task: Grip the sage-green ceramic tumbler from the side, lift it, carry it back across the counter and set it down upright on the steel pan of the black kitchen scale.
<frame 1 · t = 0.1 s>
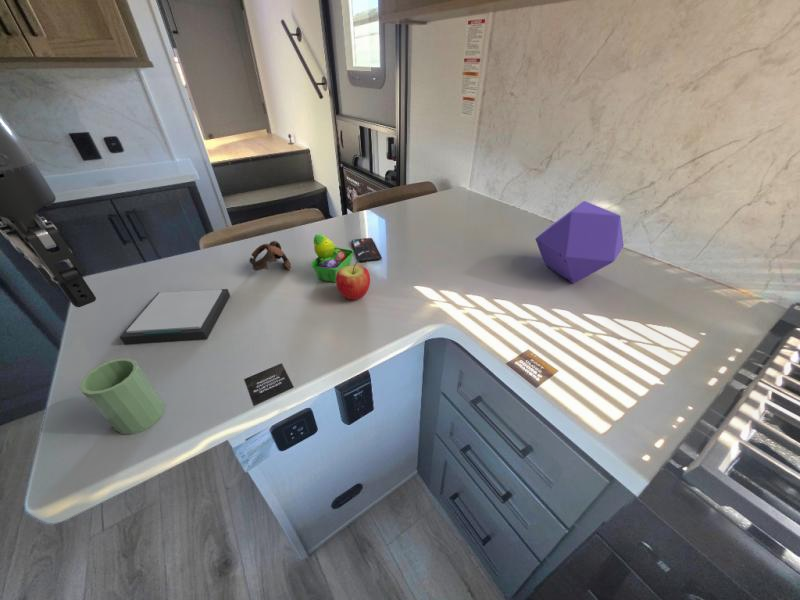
hand: (73, 292, 42), 22 cm above the worktop, tool pointing down, fingers open, 8 cm apart
scale: (182, 318, 72), on the worktop
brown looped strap: (274, 267, 92), on the worktop
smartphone: (366, 250, 101), on the worktop
tumbler: (141, 416, 52), on the worktop
apple: (354, 296, 81), on the worktop
purple polyhedron: (567, 272, 92), on the worktop
fruit basket: (332, 273, 90), on the worktop
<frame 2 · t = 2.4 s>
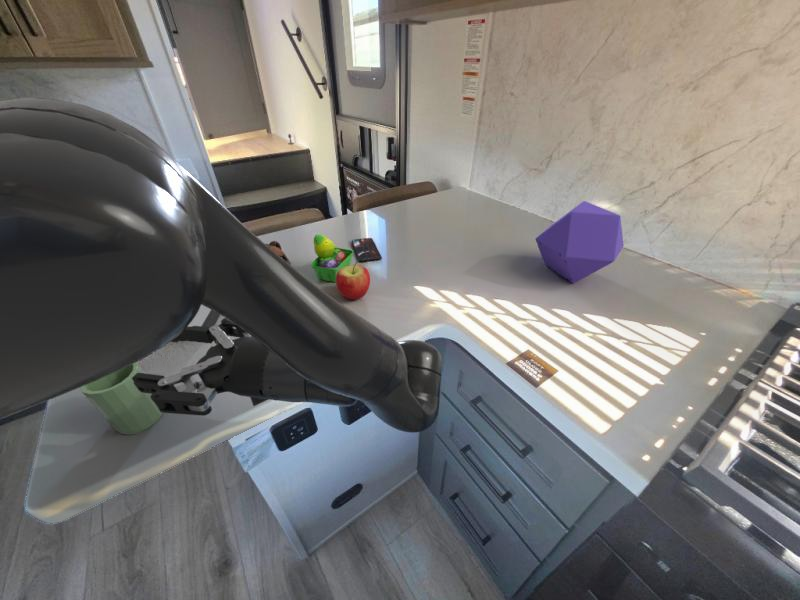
hand: (163, 355, 41), 16 cm above the worktop, tool horizontal, fingers open, 8 cm apart
nothing on the worktop moved.
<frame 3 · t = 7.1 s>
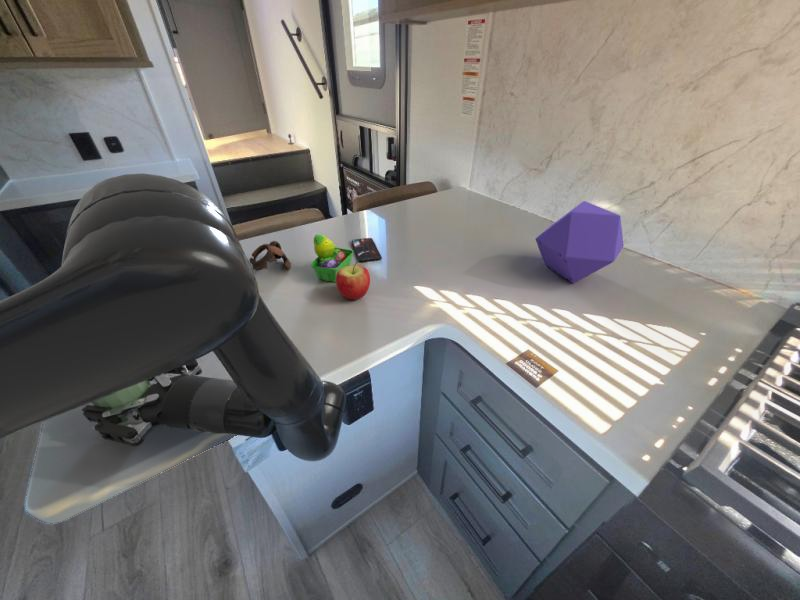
hand: (109, 390, 48), 6 cm above the worktop, tool horizontal, fingers closed on tumbler, 6 cm apart
tumbler: (141, 416, 52), on the worktop, touching gripper
everything else where it was.
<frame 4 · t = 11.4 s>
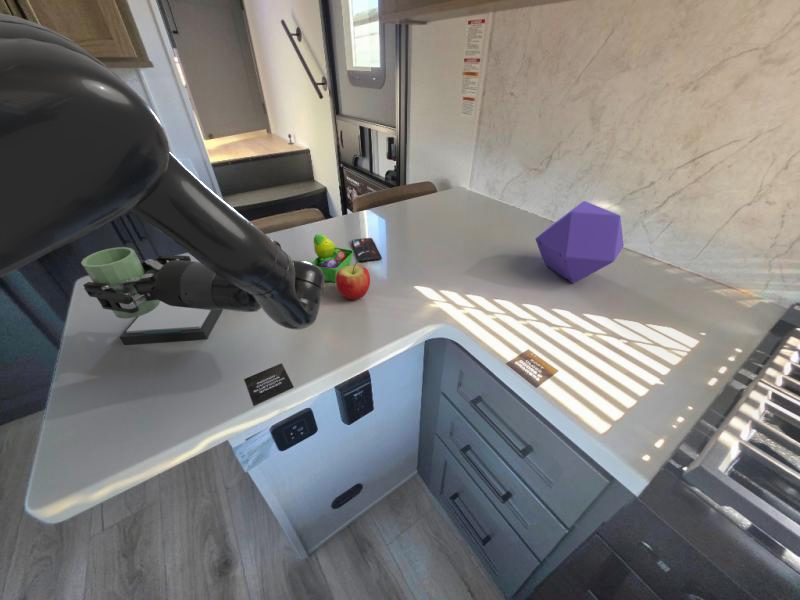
hand: (108, 276, 52), 18 cm above the worktop, tool horizontal, fingers closed on tumbler, 6 cm apart
tumbler: (138, 306, 56), point 12 cm above the worktop, touching gripper
everything else where it was.
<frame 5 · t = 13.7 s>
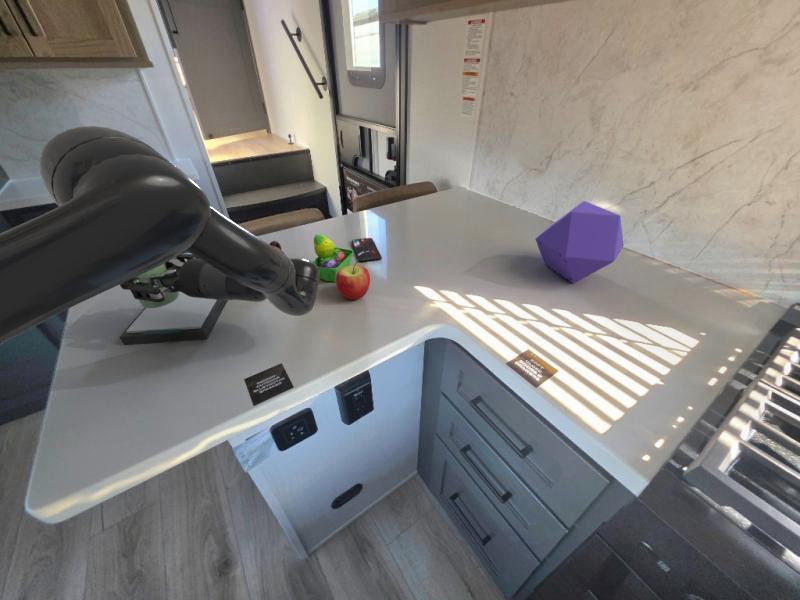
hand: (136, 272, 62), 14 cm above the worktop, tool horizontal, fingers closed on tumbler, 6 cm apart
tumbler: (160, 298, 65), point 8 cm above the worktop, touching gripper
everything else where it was.
when the fingers open (9 cm above the worktop, at t = 15.7 s): tumbler stays where it is, resting on scale.
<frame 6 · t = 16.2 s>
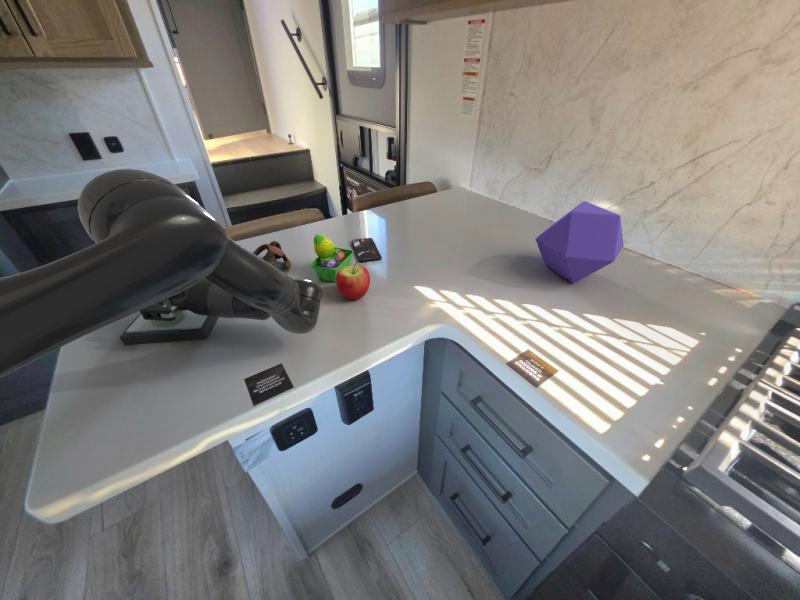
hand: (147, 290, 64), 9 cm above the worktop, tool horizontal, fingers open, 8 cm apart
tumbler: (169, 316, 68), point 3 cm above the worktop, touching scale
everything else where it was.
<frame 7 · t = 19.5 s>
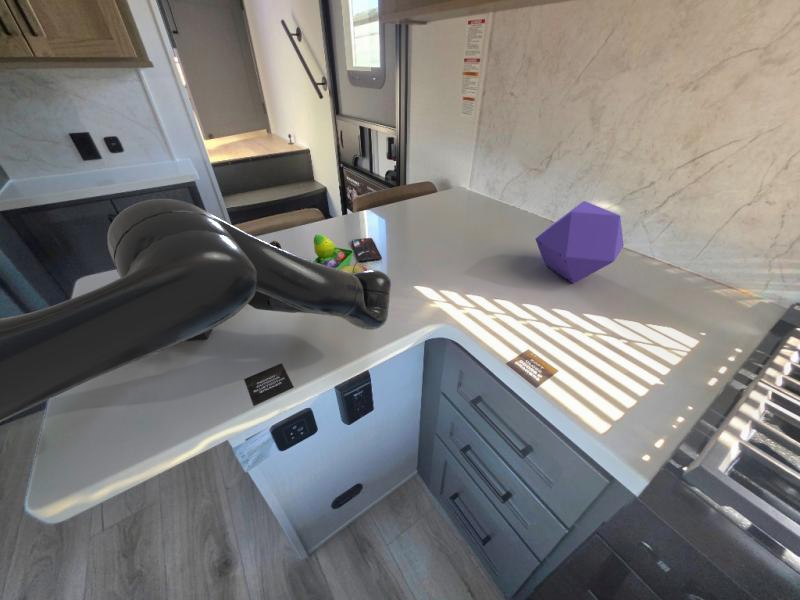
hand: (200, 283, 59), 13 cm above the worktop, tool horizontal, fingers open, 8 cm apart
nothing on the worktop moved.
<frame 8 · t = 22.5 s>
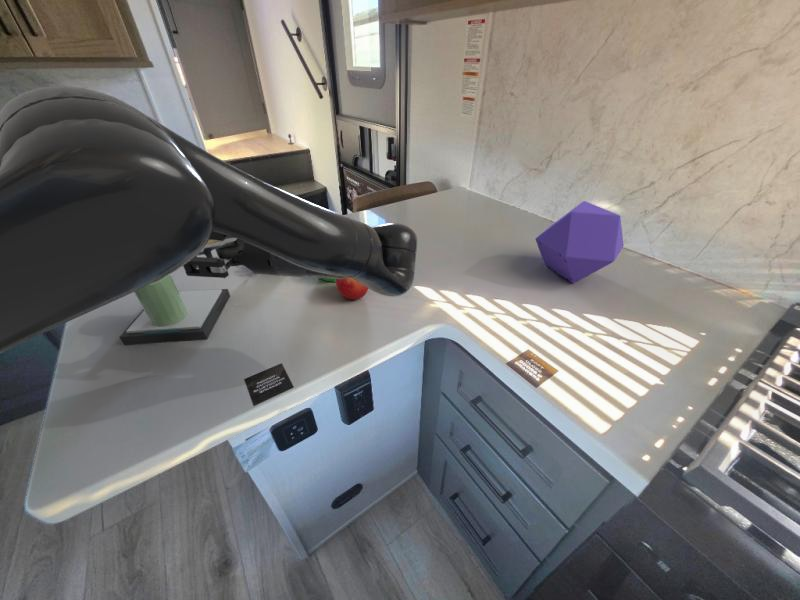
hand: (186, 243, 50), 24 cm above the worktop, tool horizontal, fingers open, 8 cm apart
nothing on the worktop moved.
at the end: tumbler inside the target area on the scale (3.0 cm from its centre), point 2.8 cm above the scale's base; tumbler tilted 0°; the gripper is holding nothing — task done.
